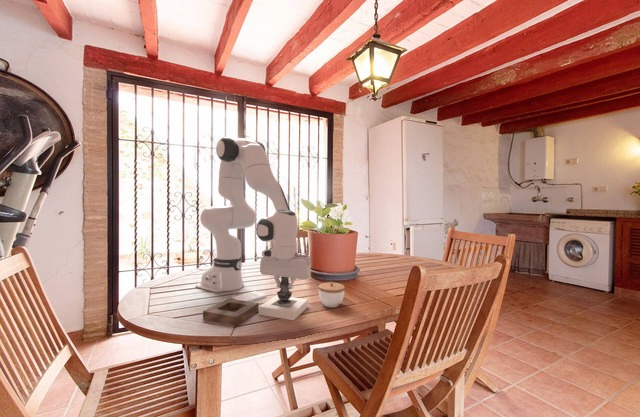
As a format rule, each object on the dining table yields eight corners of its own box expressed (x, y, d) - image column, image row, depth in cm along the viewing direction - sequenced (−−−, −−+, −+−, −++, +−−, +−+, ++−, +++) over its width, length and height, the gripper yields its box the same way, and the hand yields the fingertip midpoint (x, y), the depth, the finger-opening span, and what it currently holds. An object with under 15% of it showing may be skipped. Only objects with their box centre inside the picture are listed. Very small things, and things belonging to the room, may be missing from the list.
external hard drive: (230, 301, 122) (254, 294, 132) (242, 305, 117) (266, 298, 127) (230, 297, 122) (254, 290, 132) (242, 301, 117) (266, 294, 127)
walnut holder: (202, 319, 102) (203, 310, 102) (227, 305, 115) (227, 298, 115) (236, 325, 97) (237, 316, 97) (258, 310, 111) (258, 303, 111)
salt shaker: (295, 302, 111) (296, 271, 111) (283, 305, 107) (284, 273, 107) (284, 298, 115) (285, 268, 115) (273, 301, 111) (274, 270, 111)
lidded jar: (347, 302, 122) (348, 280, 122) (339, 311, 112) (340, 287, 112) (323, 298, 126) (324, 277, 126) (314, 306, 116) (314, 283, 116)
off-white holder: (259, 314, 107) (259, 306, 107) (276, 302, 121) (276, 295, 120) (293, 320, 103) (293, 312, 103) (307, 306, 116) (308, 299, 116)
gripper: (313, 253, 111) (312, 288, 111) (266, 249, 117) (265, 282, 118) (307, 255, 105) (306, 293, 105) (258, 251, 111) (257, 287, 112)
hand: (284, 287), depth 111 cm, fingers closed on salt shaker, 3 cm apart
